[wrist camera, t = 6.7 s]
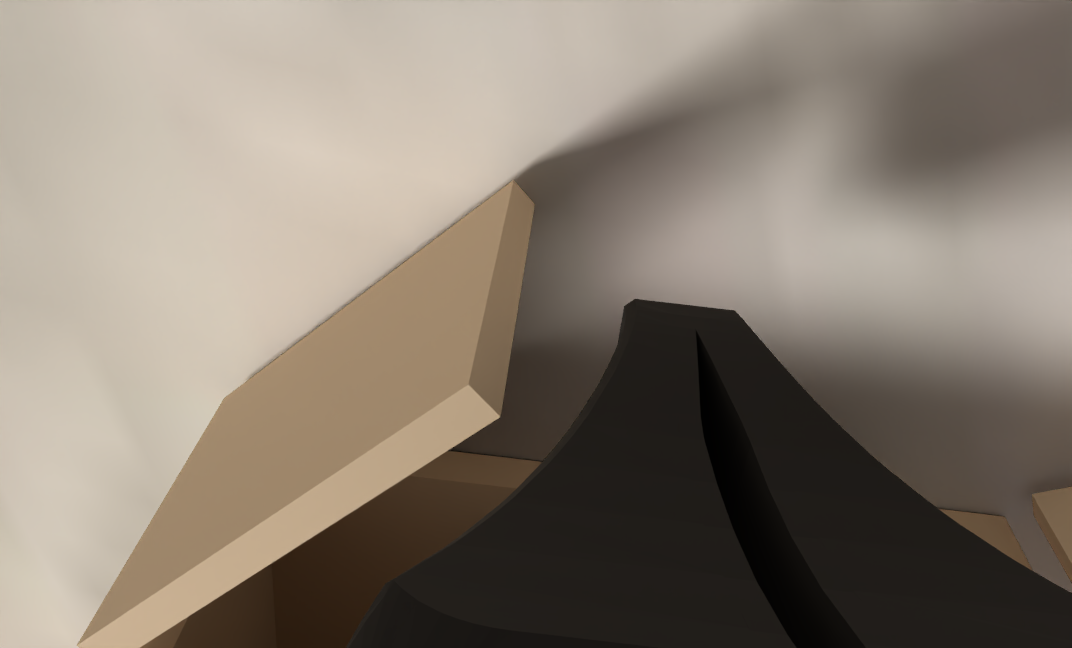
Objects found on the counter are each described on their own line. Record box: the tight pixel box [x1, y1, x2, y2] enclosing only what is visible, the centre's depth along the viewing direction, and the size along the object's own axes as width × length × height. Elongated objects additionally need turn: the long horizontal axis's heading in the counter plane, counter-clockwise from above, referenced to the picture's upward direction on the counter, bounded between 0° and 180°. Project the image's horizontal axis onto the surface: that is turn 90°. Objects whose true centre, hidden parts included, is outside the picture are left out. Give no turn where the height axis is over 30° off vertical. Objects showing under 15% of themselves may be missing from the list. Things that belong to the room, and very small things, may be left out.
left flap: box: [77, 180, 535, 648], centre depth 13 cm, size 7×1×5 cm, turn 129°
